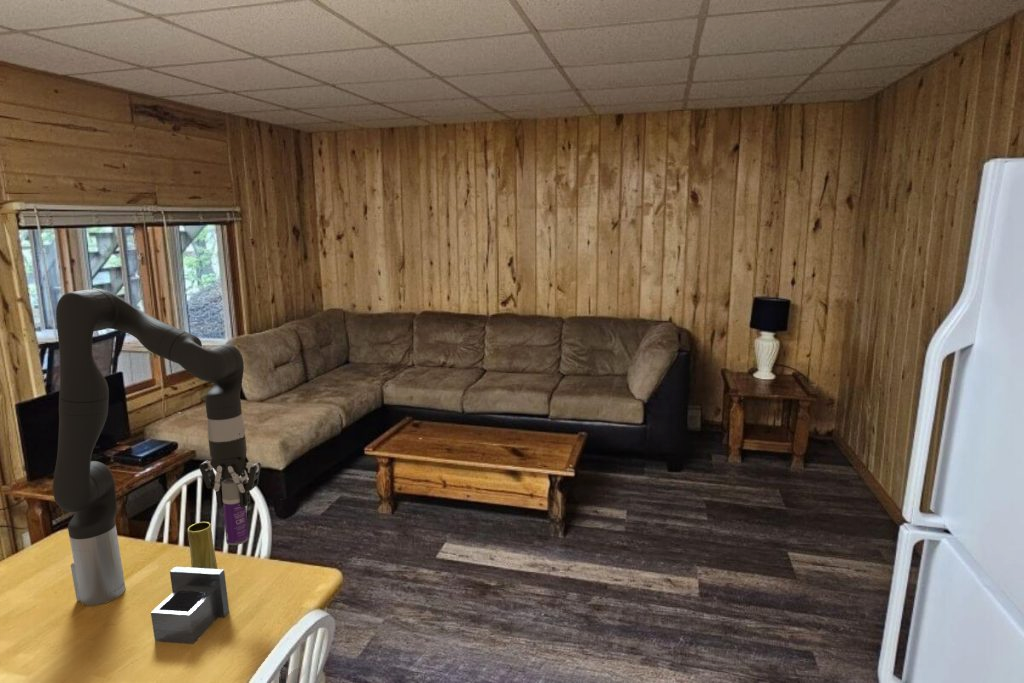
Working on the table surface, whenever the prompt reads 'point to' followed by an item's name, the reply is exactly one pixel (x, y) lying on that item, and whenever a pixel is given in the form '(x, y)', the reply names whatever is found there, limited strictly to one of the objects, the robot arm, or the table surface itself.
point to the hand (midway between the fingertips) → (234, 505)
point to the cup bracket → (190, 605)
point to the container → (233, 513)
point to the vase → (201, 546)
